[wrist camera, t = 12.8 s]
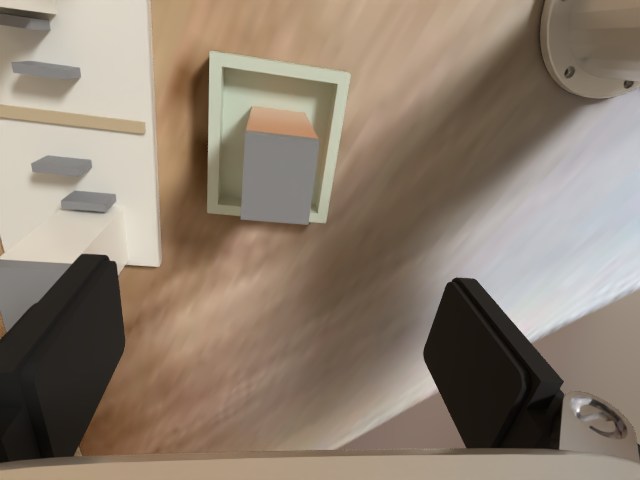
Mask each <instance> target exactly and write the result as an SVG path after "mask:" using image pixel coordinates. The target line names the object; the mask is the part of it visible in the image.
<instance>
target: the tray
mask: <svg viewBox="0 0 640 480" xmlns="http://www.w3.org/2000/svg"><path fill="white" fill-rule="evenodd" d="M350 77H351V73H348V72H346V71H341V70H334V69H328V68H322V67H315V66H309V65H303V64H296V63H290V62H284V61H277V60H271V59H264V58H258V57H252V56H245V55H239V54H233V53H226V52H220V51H210V62H209V124H208V187H207V213H211V214H223V215H235V216H241V202H242V183H243V164H244V144H245V131H246V128H247V124H248V120H249V116H250V113H251V109H252V106H258V107H266V108H274V109H282V110H289V111H297V112H305V114H306V116H307V118H308V120H309V121H310V123H311V125H312V127H313V129H314V131H315V133H316V135H317V137H318V139H319V141H320V144H319V152H318V159H317V166H316V173H315V180H314V188H313V195H312V202H311V209H310V216H309V222H317V223H326V219H327V213H328V207H329V201H330V195H331V189H332V184H333V178H334V172H335V166H336V160H337V154H338V148H339V142H340V136H341V130H342V124H343V118H344V112H345V106H346V100H347V94H348V89H349V83H350Z"/></svg>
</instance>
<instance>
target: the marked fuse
mask: <svg viewBox="0 0 640 480" xmlns="http://www.w3.org/2000/svg"><path fill="white" fill-rule="evenodd" d="M319 144H320V141H319V139H318V137H317V135H316V133H315V131H314V129H313V127H312V125H311V123H310V121H309V120H308V118H307V116H306V114H305V112H297V111H289V110H282V109H274V108H266V107H258V106H252V109H251V113H250V116H249V120H248V124H247V128H246V131H245V144H244V164H243V183H242V202H241V220H253V221H266V222H279V223H291V224H304V225H308V223H309V216H310V209H311V202H312V195H313V188H314V180H315V173H316V166H317V159H318V152H319Z"/></svg>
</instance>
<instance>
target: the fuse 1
mask: <svg viewBox="0 0 640 480" xmlns="http://www.w3.org/2000/svg"><path fill="white" fill-rule="evenodd" d="M0 7H5V8H13V9H20V10H28V11H35V12H43V13H50V14H57V13H56V5H55V0H0Z"/></svg>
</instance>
